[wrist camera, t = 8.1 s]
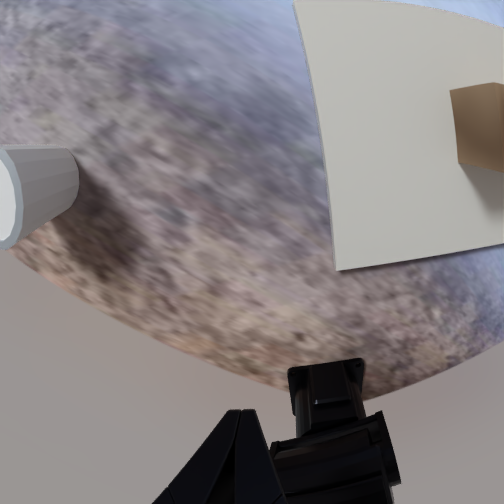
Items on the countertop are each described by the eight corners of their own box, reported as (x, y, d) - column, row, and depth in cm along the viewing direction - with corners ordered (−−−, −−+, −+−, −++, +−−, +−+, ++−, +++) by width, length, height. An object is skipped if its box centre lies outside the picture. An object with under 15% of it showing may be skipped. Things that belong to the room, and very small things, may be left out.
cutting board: (551, 228, 17) (557, 232, 16) (333, 264, 20) (336, 270, 19) (536, 46, 11) (543, 45, 10) (292, 6, 14) (293, 0, 13)
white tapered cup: (95, 211, 20) (34, 241, 14) (39, 227, 21) (-17, 257, 14) (76, 124, 18) (10, 127, 11) (21, 153, 19) (-38, 166, 12)
